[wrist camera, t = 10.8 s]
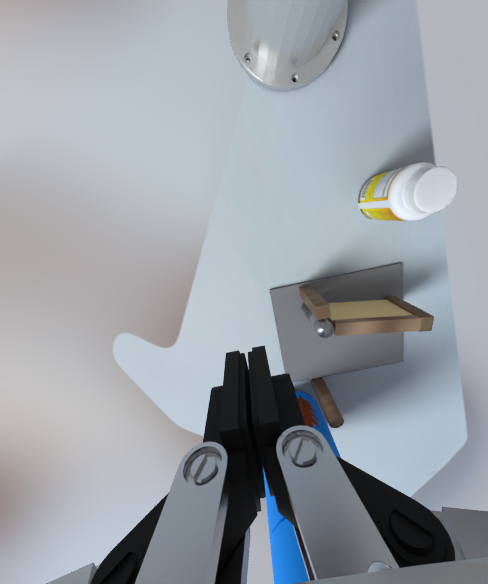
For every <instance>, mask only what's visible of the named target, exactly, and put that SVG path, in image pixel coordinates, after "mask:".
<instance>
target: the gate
mask: <svg viewBox="0 0 488 584" xmlns="http://www.w3.org/2000/svg"><path fill="white" fill-rule="evenodd" d="M329 304H330V313H331V317H329V318H324V319H319V320H317V319H316V318H315V316H314V315H313V314H312V312H311V311H310V310H309V308H308V307H307V305H306V304H305V303H303V304H302V307H301V308H302V311H303V312H304V314H305V315H306V317H307V319H308V320H309V322H310V323H311V325H312V326H313V328H314V329H315V331H316V332H317V334H318V335H319V336H320V337H322V338H328V337H330V336H331V335H332V334H333V333H334V335H335V336H342V335H358V334H374V333H390V332H406V331H431V330H432V325H433V320H434V316H432V315H430V314H428V313H426V312H424V311H422V310H421V309H419V308H417V307H415V306H413V305H411V304H409V303H407V302H405V301H403V300H401V299H400V298H398V297H396V296H385V299H384V300H371V301H356V302H340V303H329Z"/></svg>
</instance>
